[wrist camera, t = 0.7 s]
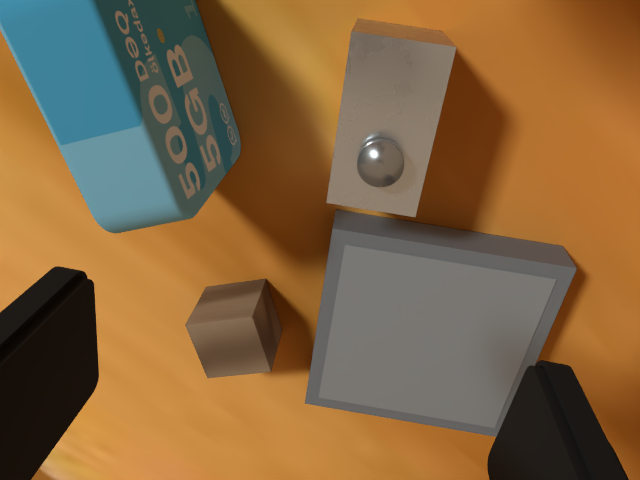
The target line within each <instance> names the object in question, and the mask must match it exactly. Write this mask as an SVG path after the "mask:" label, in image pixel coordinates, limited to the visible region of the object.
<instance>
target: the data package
mask: <svg viewBox="0 0 640 480" xmlns="http://www.w3.org/2000/svg"><path fill="white" fill-rule="evenodd" d="M0 30H1V32H2V34H3V36H4V38H5V40H6V42H7V44H8V46H9V48H10V50H11V52H12V54H13V56H14V58H15V60H16V62H17V64H18V66H19V68H20V70H21V72H22V74H23V76H24V78H25V80H26V82H27V84H28V86H29V88H30V90H31V92H32V94H33V97H34V99H35V101H36V103H37V105H38V107H39V109H40V111H41V113H42V115H43V117H44V119H45V121H46V123H47V125H48V127H49V129H50V131H51V133H52V135H53V137H54V139H55V141H56V143H57V145H58V147H59V149H60V151H61V153H62V155H63V157H64V159H65V161H66V163H67V165H68V167H69V169H70V171H71V173H72V175H73V177H74V179H75V181H76V183H77V185H78V187H79V189H80V191H81V193H82V195H83V197H84V199H85V201H86V203H87V205H88V207H89V209H90V211H91V213H92V215H93V217H94V219H95V220H96V222H97V223H98V224H99V225H100V226H101V227H102V228H103V229H105V230H106V231H108V232H111V233H121V232H126V231H131V230H136V229H141V228H146V227H151V226H156V225H161V224H166V223H171V222H176V221H181V220H186V219H190V218H193V217H194V216H195V215H196V214H197V213H198V211H199V210H200V209H201V207H202V206H203V205H204V203H205V202H206V201H207V199H208V198H209V197H210V195H211V194H212V193H213V191H214V190H215V188H216V187H217V186H218V184H219V183H220V182H221V180H222V179H223V178H224V176H225V175H226V174H227V172H228V171H229V170H230V168H231V167H232V166H233V164H234V163H235V162H236V160H237V159H238V158H239V156H240V152H241V142H240V136H239V132H238V128H237V125H236V122H235V119H234V116H233V113H232V110H231V107H230V104H229V101H228V98H227V95H226V92H225V89H224V86H223V83H222V80H221V77H220V74H219V71H218V68H217V65H216V62H215V59H214V56H213V53H212V50H211V46H210V43H209V40H208V37H207V34H206V31H205V28H204V25H203V22H202V19H201V16H200V13H199V10H198V7H197V4H196V1H195V0H0Z"/></svg>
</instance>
